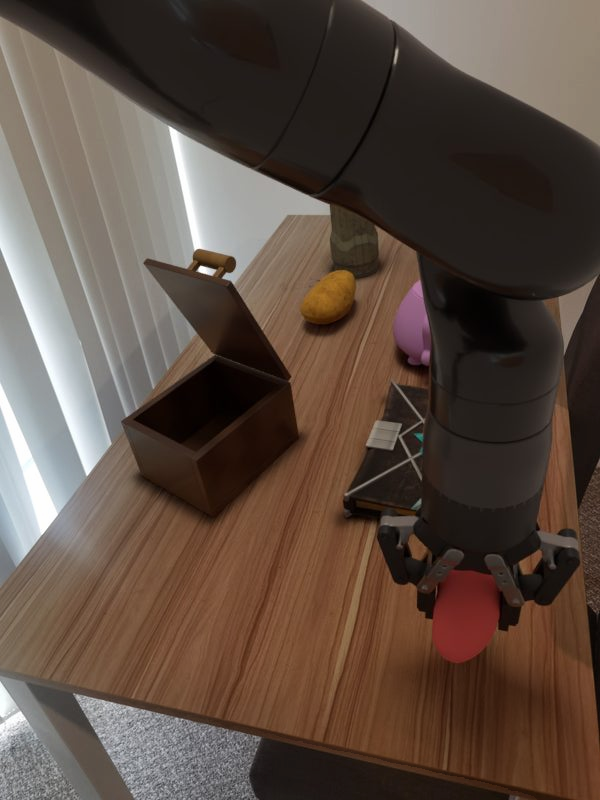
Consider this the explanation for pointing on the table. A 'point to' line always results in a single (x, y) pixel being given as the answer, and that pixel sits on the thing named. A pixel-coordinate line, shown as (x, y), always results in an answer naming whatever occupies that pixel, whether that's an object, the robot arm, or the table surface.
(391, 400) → the book
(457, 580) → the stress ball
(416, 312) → the teapot
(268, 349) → the lid
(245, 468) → the chest
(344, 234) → the tall handled vase
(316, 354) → the table surface
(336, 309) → the potato
